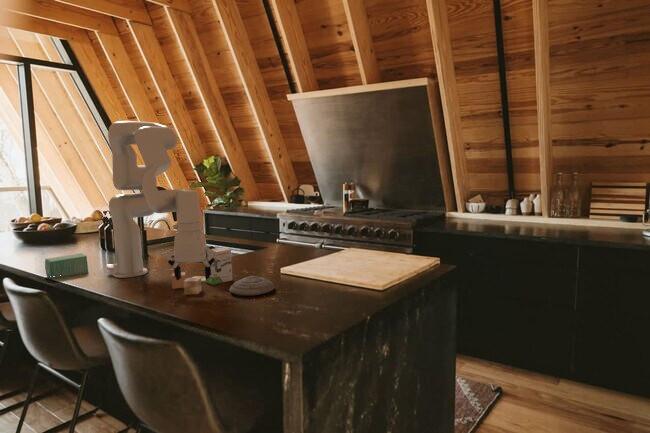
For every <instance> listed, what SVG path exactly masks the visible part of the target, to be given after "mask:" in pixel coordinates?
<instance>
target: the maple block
mask: <svg viewBox="0 0 650 433" xmlns="http://www.w3.org/2000/svg"><path fill="white" fill-rule="evenodd" d="M183 289H184V290H183V291H184V292H183V294H184V295H199V294H200V293H201V292H202V282H201V278H192V277H186V280H185V281H184V288H183Z"/></svg>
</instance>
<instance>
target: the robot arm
mask: <svg viewBox="0 0 650 433" xmlns="http://www.w3.org/2000/svg"><path fill="white" fill-rule="evenodd" d="M107 138H108V144H109V146H110V149H111V150H110V151H111V153H112V154H111V155H112V158H111V159H112V160H111V162H112V184H113V187H114V189H116V190H118V191H120V192H121V191H123V192H124V191H125V192H127V191H140V192H134V193H133V192H131V193H121V194H116V195H114V196H112V197H111V198H110V199H109V201H108V209H109V213H110V217H111V220H112V228H113V239H114V250H115V251H114V252H115V262H116V263H115V264H109V263H108V264H107V265H106V269H107V271H111V270H112V271H114V272H112V276H113V277H114V278H119V279H122V278H125V279H126V278H134V277H139V276H143V275H147V274H148V268H147V267H144V262H143V250H142V248H143V247H142V238H141V236H142V235H141V228H140V226H139V224H138V223H137V222H136V221H135V218H142V217H143V218H144V217H149V216H152V215H154V214H166V213H167V214H168V213H175V214H176V224H173V225H172V229H174V230H176V232H175V233H174V241H173V242H174V243H173V246H174V247H173V250H172V251H170V252H168V253H167V254H165V255H164V257H165V259H166V261H167V262H168V264H169V265H170V266H171V267H172V268H173V273H174V274H175V277H176V280H179V279H180V278H181V272H182V270H181V266H180V264H187V263H188V264H189V263H190V264H191V263H203V264H204V276H205V278H206V279H208V278H209V277H210V276H211V264H212V263H213V262H214V261H215V259H216V257H217V255H218V252H216V251H213V250H211V248H209V247H208V245H207V239H206V236H205V232H204V230H202V219H201V205H200V194H199V192H198V190H195V189H186V188H185V189H184V188H183V189H182V188H177V189H163V190H161V189H160V190H159V189H158V187H157V185H158V184H157V176H159V175H161V174H163V173H165V172H167V171H168V170H169V169H170V168H171V166H172V160H171V157H170V154H169V152H168V151H172V150H174V149H175V148H176V147H177V145H178V138H177V134H176V133H175V131H174V130H173V129H172V128H171V127H169V126H167V125H163V124H160V123H156V122H152V121H137V120H133V121H132V120H120V121H115V122H112V123H111V125H110V126H109V128H108V131H107ZM133 145H136V146H137V148H138V152H139V154H140V156H141V158H142V160H143V163H144V164H141V165H140V164H139V165H138V162H137V160H138V158H137V156H138V155H137V152H136V150H135V149H134V147H133ZM208 253H209V254H211V255H212V259H211V260H209V259H208V258H207V257H208ZM172 256H174V257H173V258H174V260H173V259H172ZM205 265H206V267H205Z"/></svg>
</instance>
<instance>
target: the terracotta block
mask: <svg viewBox="0 0 650 433" xmlns="http://www.w3.org/2000/svg"><path fill="white" fill-rule="evenodd" d="M170 277H171V287H172V288H171V289H184V281H185V280H186V279H187V277H186V272H185V271H181V278H180V279H179V280H176V277H175V274H174V272H172V273H171V276H170Z"/></svg>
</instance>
